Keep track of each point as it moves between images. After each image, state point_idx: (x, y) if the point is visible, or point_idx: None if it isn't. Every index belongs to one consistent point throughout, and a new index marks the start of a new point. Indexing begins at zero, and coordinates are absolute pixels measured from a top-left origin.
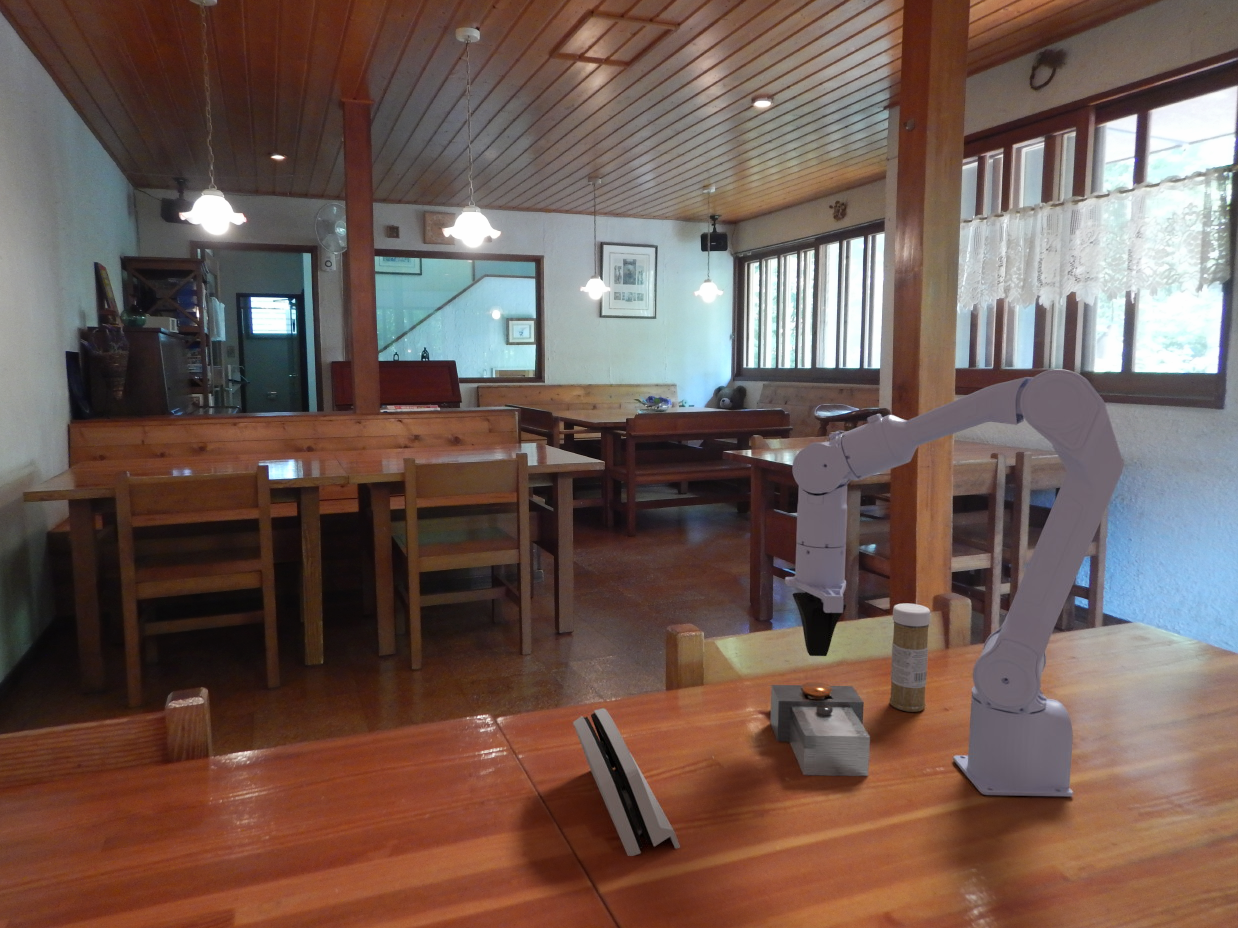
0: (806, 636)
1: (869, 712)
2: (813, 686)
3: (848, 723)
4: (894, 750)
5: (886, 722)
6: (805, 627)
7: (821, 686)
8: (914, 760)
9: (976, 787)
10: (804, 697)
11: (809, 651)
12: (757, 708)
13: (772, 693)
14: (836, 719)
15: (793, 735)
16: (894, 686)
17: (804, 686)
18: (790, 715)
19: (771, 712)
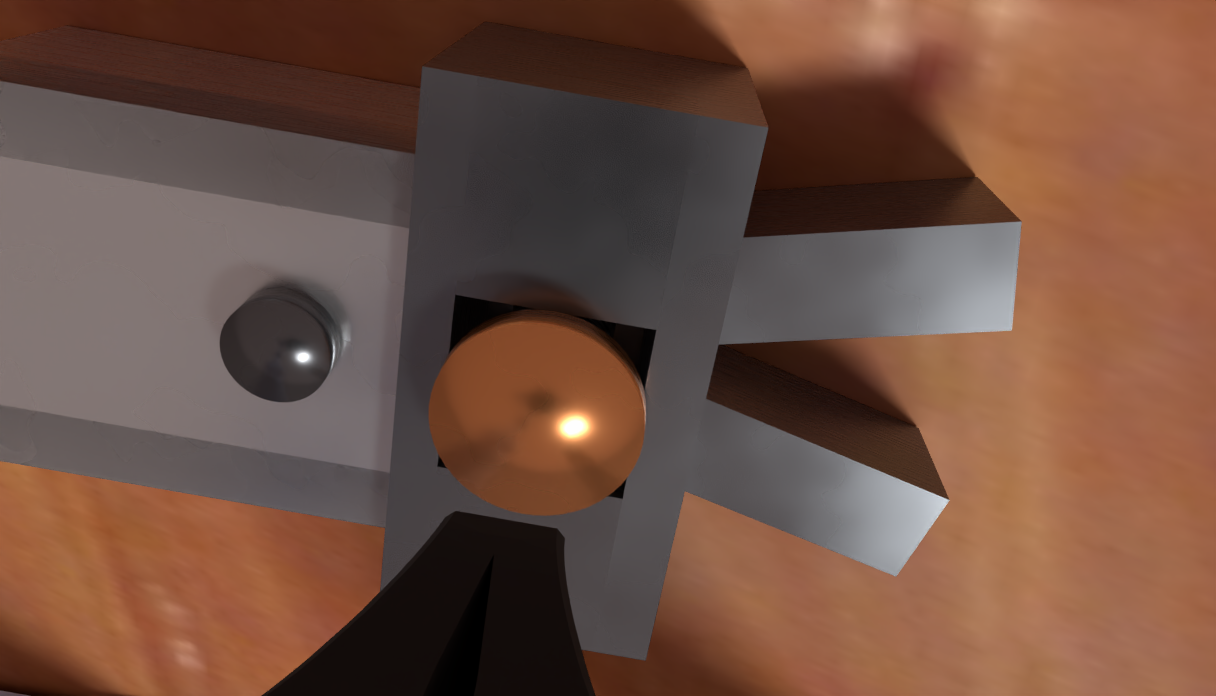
0: (384, 611)
1: (782, 649)
2: (558, 408)
3: (132, 414)
4: (354, 569)
5: (653, 667)
6: (338, 685)
7: (550, 461)
8: (256, 600)
9: (10, 692)
10: (480, 291)
11: (437, 531)
12: (1001, 60)
13: (708, 105)
14: (185, 369)
15: (340, 96)
16: None
17: (566, 345)
18: None
19: (723, 79)
